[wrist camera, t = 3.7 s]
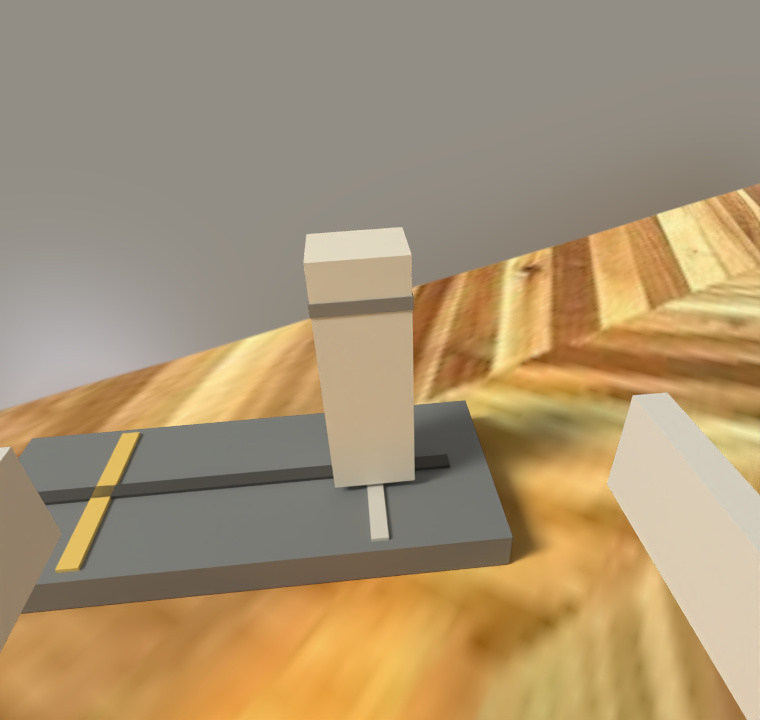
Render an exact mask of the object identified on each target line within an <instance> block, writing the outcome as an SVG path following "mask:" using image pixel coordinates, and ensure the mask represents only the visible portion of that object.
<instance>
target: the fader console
mask: <svg viewBox="0 0 760 720" xmlns="http://www.w3.org/2000/svg"><path fill="white" fill-rule="evenodd" d="M18 460H19V461H20V463H21V465H22V466H23V468H24V470H25V471H26V473H27V475H28V477H29V478H30V480H31V482H32V483H33V485H34V487H35V488H36V490H37V492H38V494H39V495H40V497H41V499H42V500H43V502H44V504H45V505H46V507H47V509H48V510H49V512H50V514H51V516H52V517H53V519H54V521H55V522H56V524H57V526H58V527H59V529H60V531H61V533H62V534H61V536H60V538H59V540H58V542H57V544H56V546H55V548H54V550H53V552H52V554H51V556H50V558H49V560H48V561H47V563H46V565H45V567H44V569H43V571H42V573H41V575H40V577H39V579H38V581H37V583H36V585H35V587H34V588H33V590H32V592H31V594H30V596H29V598H28V600H27V602H26V604H25V606H24V608H23V610H22V612H21V613H30V612H40V611H50V610H60V609H70V608H80V607H90V606H99V605H109V604H119V603H129V602H139V601H149V600H159V599H169V598H179V597H189V596H198V595H208V594H218V593H228V592H238V591H248V590H258V589H268V588H278V587H287V586H297V585H307V584H317V583H327V582H337V581H347V580H357V579H367V578H377V577H386V576H396V575H406V574H416V573H426V572H436V571H446V570H456V569H466V568H476V567H485V566H495V565H505V564H509V560H510V553H511V546H512V540H513V536H512V534H511V531H510V528H509V525H508V522H507V519H506V516H505V513H504V511H503V508H502V505H501V502H500V499H499V496H498V493H497V490H496V488H495V485H494V482H493V479H492V476H491V473H490V470H489V467H488V465H487V462H486V459H485V456H484V453H483V450H482V447H481V444H480V442H479V439H478V436H477V433H476V430H475V427H474V424H473V421H472V419H471V416H470V413H469V410H468V407H467V404H466V401H454V402H443V403H432V404H420V405H414V463H415V480H412V481H401V482H391V483H380V484H369V485H359V486H348V487H337V488H335V484H334V477H333V470H332V463H331V456H330V448H329V441H328V434H327V427H326V420H325V413H318V414H307V415H296V416H284V417H273V418H262V419H250V420H239V421H228V422H216V423H205V424H194V425H182V426H171V427H160V428H148V429H137V430H126V431H114V432H103V433H92V434H80V435H69V436H58V437H46V438H35V439H32V440H31V441H30V443H29V444H28V446H27V447H26V448H25V450H24V451H23V453H22V454H21V456H20V457H19V458H18Z"/></svg>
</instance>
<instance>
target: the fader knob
mask: <svg viewBox="0 0 760 720" xmlns="http://www.w3.org/2000/svg"><path fill="white" fill-rule="evenodd" d="M411 260H412V259H411V252H410V249H409V246H408V243H407V240H406V238H405V234H404V231H403V228H402V227H400V228H385V229H372V230H358V231H344V232H332V233H318V234H307V235H306V245H305V255H304V269H305V277H306V285H307V292H308V309H309V316H310V318H311V320H312V327H313V334H314V342H315V349H316V356H317V363H318V370H319V377H320V384H321V391H322V399H323V406H324V413H325V420H326V427H327V434H328V441H329V448H330V456H331V463H332V470H333V477H334V484H335V488H337V487H348V486H359V485H369V484H380V483H391V482H401V481H412V480H415V463H414V395H413V327H412V310H414V297H413V293H412V261H411Z"/></svg>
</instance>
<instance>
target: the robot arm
mask: <svg viewBox="0 0 760 720" xmlns="http://www.w3.org/2000/svg"><path fill="white" fill-rule="evenodd" d="M607 485H608V487H609V488H610V490H611V492H612V493H613V495H614V497H615V498H616V500H617V502H618V503H619V505H620V507H621V509H622V510H623V512H624V514H625V515H626V517H627V519H628V520H629V522H630V524H631V525H632V527H633V529H634V530H635V532H636V534H637V535H638V537H639V539H640V540H641V542H642V544H643V546H644V547H645V549H646V551H647V552H648V554H649V556H650V557H651V559H652V561H653V562H654V564H655V566H656V567H657V569H658V571H659V572H660V574H661V576H662V577H663V579H664V581H665V583H666V584H667V586H668V588H669V589H670V591H671V593H672V594H673V596H674V598H675V599H676V601H677V603H678V604H679V606H680V608H681V609H682V611H683V613H684V614H685V616H686V618H687V619H688V621H689V623H690V625H691V626H692V628H693V630H694V631H695V633H696V635H697V636H698V638H699V640H700V641H701V643H702V645H703V646H704V648H705V650H706V651H707V653H708V655H709V656H710V658H711V660H712V662H713V663H714V665H715V667H716V668H717V670H718V672H719V673H720V675H721V677H722V678H723V680H724V682H725V683H726V685H727V687H728V688H729V690H730V692H731V693H732V695H733V697H734V699H735V700H736V702H737V704H738V705H739V707H740V709H741V710H742V712H743V714H744V715H745V717H746V719H747V720H760V495H759V494H758V493H757V492H756V491H755V490H754V488H753V487H752V486H751V485H750V484H749V483H748V482H747V481H746V480H745V478H744V477H743V476H742V475H741V474H740V473H739V472H738V471H737V470H736V468H735V467H734V466H733V465H732V464H731V463H730V462H729V461H728V460H727V458H726V457H725V456H724V455H723V454H722V453H721V452H720V451H719V450H718V448H717V447H716V446H715V445H714V444H713V443H712V442H711V441H710V440H709V439H708V437H707V436H706V435H705V434H704V433H703V432H702V431H701V430H700V429H699V427H698V426H697V425H696V424H695V423H694V422H693V421H692V420H691V419H690V417H689V416H688V415H687V414H686V413H685V412H684V411H683V410H682V409H681V407H680V406H679V405H678V404H677V403H676V402H675V401H674V400H673V399H672V397H671V396H670V395H669V394H668V393H656V394H644V395H633V397H632V400H631V404H630V407H629V411H628V414H627V417H626V421H625V424H624V428H623V431H622V434H621V438H620V441H619V445H618V448H617V451H616V455H615V458H614V462H613V465H612V469H611V472H610V475H609V479H608V482H607ZM61 534H62V533H61V531H60V529H59V527H58V526H57V524H56V522H55V521H54V519H53V517H52V516H51V514H50V512H49V510H48V509H47V507H46V505H45V504H44V502H43V500H42V499H41V497H40V495H39V494H38V492H37V490H36V488H35V487H34V485H33V483H32V482H31V480H30V478H29V477H28V475H27V473H26V471H25V470H24V468H23V466H22V465H21V463H20V461H19V460H18V458H17V456H16V454H15V453H14V451H13V449H12V448H11V447H3V448H0V652H1V650H2V648H3V646H4V644H5V642H6V641H7V639H8V637H9V635H10V633H11V631H12V629H13V627H14V625H15V623H16V621H17V619H18V617H19V615H20V614H21V612H22V610H23V608H24V606H25V604H26V602H27V600H28V598H29V596H30V594H31V592H32V590H33V588H34V587H35V585H36V583H37V581H38V579H39V577H40V575H41V573H42V571H43V569H44V567H45V565H46V563H47V561H48V560H49V558H50V556H51V554H52V552H53V550H54V548H55V546H56V544H57V542H58V540H59V538H60V536H61Z"/></svg>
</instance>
